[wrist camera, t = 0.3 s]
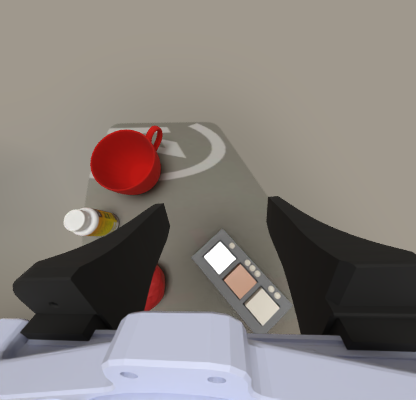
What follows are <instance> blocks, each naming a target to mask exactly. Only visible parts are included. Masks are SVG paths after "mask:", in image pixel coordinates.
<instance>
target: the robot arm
mask: <svg viewBox="0 0 416 400" xmlns="http://www.w3.org/2000/svg"><path fill="white" fill-rule="evenodd" d="M266 222H267V226H268V230H269V234H270V236H271V239H272V241H273V244H274V246H275V249H276V251H277V253H278V256H279V258H280V261H281V263H282V266H283V268H284V272H285V275H286V278H287V282H288V285H289V289H290V293H291V296H292V300H293V304H294V308H295V312H296V315H297V319H298V324H299V328H300V332H301V335H296V334H255V333H246V329H245V328H244V326H243V324H242V322H240V321H239V320H238V319H236V318H234V317H232V316H230V315H228V314H224V313H218V312H196V311H144V310H145V306H146V301H147V297H148V293H149V289H150V285H151V281H152V278H153V274H154V271H155V268H156V265H157V263H158V260H159V258H160V255H161V253H162V250H163V248H164V245H165V243H166V240H167V237H168V233H169V229H170V224H169V221H168V217H167V213H166V210H165V206H164V203H162V204H154V205H153V206H151V207H150V208H148V209H147V210H145V211H144V212H142V213H141V214H140V215H138V216H137V217H135V218H134V219H132V220H131V221H129V222H128V223H126V224H125V225H123V226H122V227H120V228H118V229H117V230H115V231H113V232H111V233H109V234H107V235H106V236H104V237H102V238H99V239H97V240H95V241H93V242H91V243H89V244H86V245H84V246H82V247H79V248H77V249H74V250H71V251H69V252H66V253H63V254H60V255H57V256H54V257H51V258H48V259H45V260H42V261H38V262H37V263H35V264H34V265H33V266H32V267H31V268H29V269H28V270H27V271H26V272H25V273H24V274H22V275H21V276H20V277H19V278H18V279H17V280H16V281H15V282H14V283H13V291H14V293H15V295H16V296H17V297H18V298H19V299H20V300H21V301H22V302H23V303H24V304H25V305H26V306H28V307H29V308H30V309H31V310H32V311H33V312H34V313H36V314H35V315H34V317H33V318H32V319H31V320H30V321H29V320H26V319H21V318H19V319H18V318H2V319H0V400H416V254H414V253H413V252H410V251H407V250H403V249H399V248H394V247H391V246H386V245H383V244H379V243H376V242H372V241H369V240H366V239H363V238H359V237H356V236H354V235H350V234H348V233H346V232H343V231H340V230H338V229H335V228H333V227H331V226H328V225H326V224H324V223H322V222H320V221H318V220H316V219H314V218H312V217H310V216H309V215H307V214H305V213H303V212H302V211H300V210H298V209H297V208H295V207H294V206H292V205H290V204H289V203H288V202H286V201H285V200H283V199H281V198H280V197H278V196H274V197H268V207H267V221H266Z"/></svg>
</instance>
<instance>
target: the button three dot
mask: <svg viewBox="0 0 416 400" xmlns="http://www.w3.org/2000/svg"><path fill="white" fill-rule="evenodd" d="M224 281H225V282H226V283H227V285H228V286H229V287H230V288H231V289H232V290H233V292H234V293H235V294H236V295H237V296H238V298H239V299H241V298H242V297H243V296H244V295H245V294H246V293H247V292H248V291H249V290H250V289H251V288H252V287H253V286H254V285H255V284H256V283H257V282H256V281H255V280H254V279H253V277H252V276H251V275H250V274H249V273H248V272H247V271H246V270H245V269H244V267H243V266H242V265H241V264H240V263H239V264H238V265H237V266H236V267H235V268H234V269H233V270H232V271H231V272H229V273H228V274H227V275H226V276H225V277H224Z"/></svg>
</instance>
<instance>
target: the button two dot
mask: <svg viewBox="0 0 416 400" xmlns="http://www.w3.org/2000/svg"><path fill="white" fill-rule="evenodd" d="M244 304H245V306H246V307H247V308H248V309H249V310H250V312H251V313H252V314H253V315H254V316H255V317H256V319H257V320H258V321H259V322H260V323H261V325H262V326H263V325H264V324H265V323H266V322H267V321H268V320H269V319H270V318H271V317H272V316H273V315H274V314H275V313H276V312H277V311H278V310H279V307H278V305H277V304H276V303H275V302H274V301H273V300H272V299H271V298H270V297H269V295H268V294H267V293H266V292H265V291H264V290H263V289H262V288H261V286H260V287H259V288H258V289H257V290H256V291H255V292H254V293H253V294H252V295H251V296H250V297H249V298H248V299H247V300H246V301H245V302H244Z"/></svg>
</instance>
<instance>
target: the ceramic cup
mask: <svg viewBox="0 0 416 400" xmlns="http://www.w3.org/2000/svg"><path fill="white" fill-rule="evenodd" d="M156 131H157V138H156V141H155V143H154V145H153V144H152V143H151V141H152V137H153V134H154V133H155V132H156ZM161 140H162V130H161V128H159V127H158V126H152V127H151V128H150V129H149V130H148V132H147V134H146V136H145V135H143V134H142V133H140V132H137V131H134V130H119V131H115V132H113V133H111V134H109V135H107V136H106V137H104V138H103V139H102V140H101V141H100V142H99V143H98V144H97V146H96V147H95V149H94V151H93V153H92V157H91V163H90V166H91V171H92V174H93V176H94V178H95V180H96V181H97V182H98V183H99V184H100V185H101V186H103V187H105V188H106V189H108V190H111V191H114V192H117V193H121V194H127V195H137V194H141V193H144V192H147V191H149V190H150V189H151V188H153V186H154V185H155V184H156V183H157V181H158V179H159V177H160V172H161V164H160V160H159V156H158V154H157V152H156V151H157V149H158V147H159V145H160V143H161Z"/></svg>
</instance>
